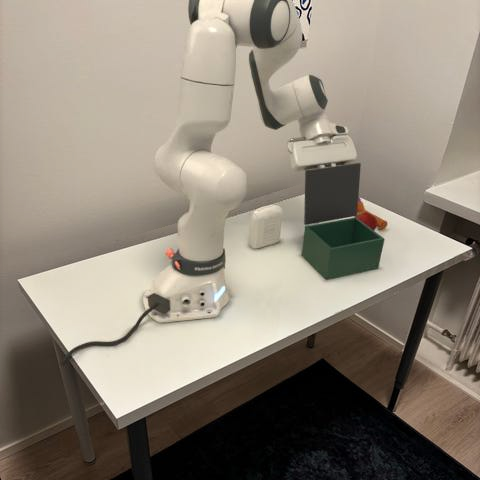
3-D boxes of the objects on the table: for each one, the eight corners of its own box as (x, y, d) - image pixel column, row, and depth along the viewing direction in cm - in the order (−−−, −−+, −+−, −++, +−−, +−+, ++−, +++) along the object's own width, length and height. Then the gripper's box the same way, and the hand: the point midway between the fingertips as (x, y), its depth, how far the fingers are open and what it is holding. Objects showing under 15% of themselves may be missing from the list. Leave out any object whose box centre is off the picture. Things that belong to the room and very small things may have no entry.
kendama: (376, 221, 162) (340, 193, 175) (375, 236, 167) (339, 208, 180) (391, 214, 164) (354, 188, 177) (389, 229, 168) (353, 202, 181)
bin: (378, 268, 147) (384, 238, 141) (326, 280, 141) (330, 249, 135) (350, 245, 157) (355, 217, 151) (301, 255, 152) (304, 226, 146)
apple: (374, 242, 160) (379, 219, 155) (349, 239, 161) (353, 216, 156) (374, 231, 166) (378, 208, 161) (349, 228, 167) (353, 206, 162)
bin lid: (360, 163, 143) (359, 162, 144) (306, 170, 138) (305, 170, 138) (357, 215, 151) (355, 215, 151) (305, 225, 145) (303, 224, 146)
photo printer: (273, 236, 161) (276, 200, 153) (281, 242, 158) (284, 205, 151) (247, 244, 156) (248, 207, 149) (255, 250, 153) (256, 213, 146)
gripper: (289, 133, 139) (302, 180, 137) (352, 126, 145) (365, 171, 144) (281, 144, 145) (293, 189, 143) (341, 137, 151) (354, 180, 150)
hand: (330, 180), depth 144 cm, fingers closed, pressing on bin lid
